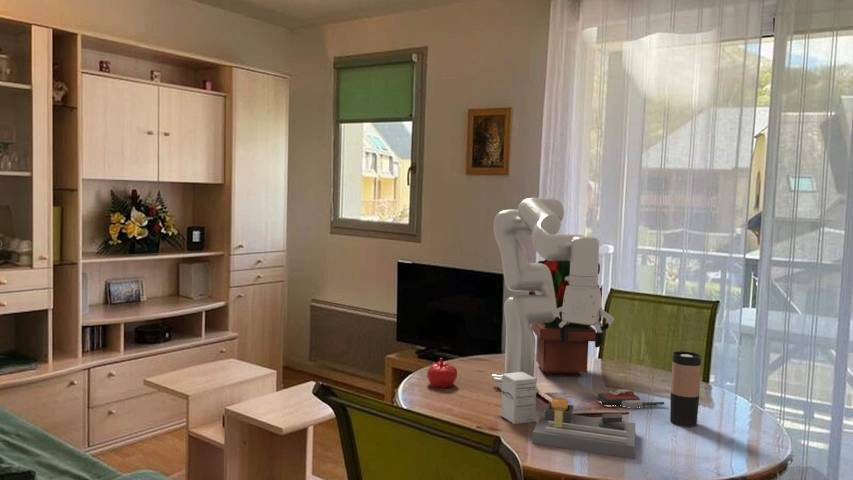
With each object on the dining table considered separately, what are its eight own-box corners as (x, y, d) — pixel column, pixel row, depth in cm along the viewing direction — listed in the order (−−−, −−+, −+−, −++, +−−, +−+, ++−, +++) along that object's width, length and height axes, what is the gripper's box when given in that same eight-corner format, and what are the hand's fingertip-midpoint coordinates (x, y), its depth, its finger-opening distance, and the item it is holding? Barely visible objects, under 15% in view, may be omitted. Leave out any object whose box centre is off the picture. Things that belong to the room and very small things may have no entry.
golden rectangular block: (553, 429, 167) (554, 410, 166) (555, 425, 170) (556, 406, 170) (561, 430, 166) (562, 411, 166) (563, 426, 169) (564, 407, 169)
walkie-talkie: (605, 410, 195) (666, 408, 198) (606, 396, 195) (666, 394, 198) (593, 401, 204) (651, 399, 207) (593, 387, 203) (652, 386, 207)
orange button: (550, 412, 175) (550, 401, 175) (552, 407, 180) (552, 397, 179) (566, 414, 174) (567, 403, 174) (568, 409, 178) (568, 399, 178)
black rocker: (602, 422, 171) (601, 418, 171) (603, 418, 175) (602, 414, 175) (621, 422, 170) (621, 417, 170) (622, 417, 173) (621, 413, 173)
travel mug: (664, 418, 188) (668, 350, 187) (689, 418, 189) (693, 351, 188) (676, 427, 181) (680, 357, 180) (702, 427, 181) (706, 357, 180)
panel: (532, 443, 166) (533, 420, 165) (542, 421, 183) (543, 400, 183) (633, 458, 158) (635, 434, 158) (635, 433, 175) (636, 412, 175)
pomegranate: (456, 390, 211) (458, 363, 210) (426, 389, 211) (427, 361, 210) (456, 381, 220) (457, 354, 220) (427, 380, 221) (428, 353, 220)
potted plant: (598, 380, 226) (604, 253, 223) (535, 378, 227) (540, 251, 224) (583, 364, 248) (588, 248, 245) (526, 362, 249) (530, 246, 246)
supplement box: (499, 416, 186) (501, 373, 185) (521, 413, 189) (523, 371, 188) (513, 424, 179) (514, 380, 179) (535, 421, 182) (537, 377, 181)
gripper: (548, 280, 177) (546, 341, 178) (609, 285, 167) (607, 351, 168) (559, 278, 184) (557, 337, 184) (619, 283, 173) (616, 346, 174)
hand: (581, 343), depth 176 cm, fingers open, 9 cm apart
